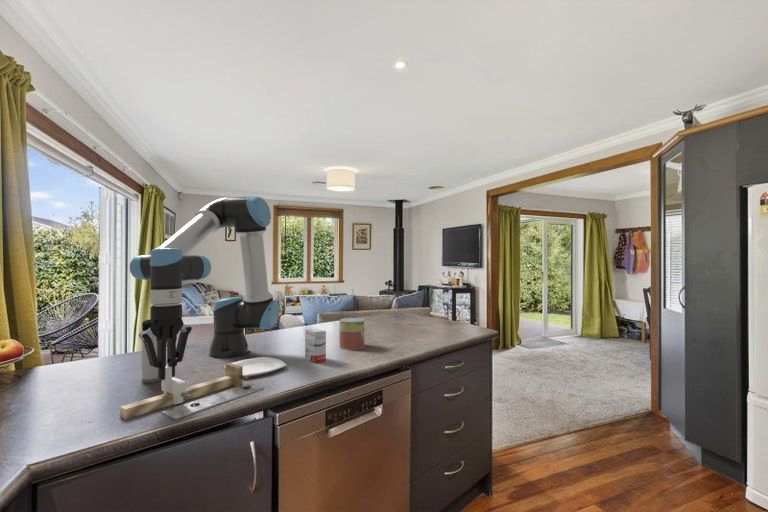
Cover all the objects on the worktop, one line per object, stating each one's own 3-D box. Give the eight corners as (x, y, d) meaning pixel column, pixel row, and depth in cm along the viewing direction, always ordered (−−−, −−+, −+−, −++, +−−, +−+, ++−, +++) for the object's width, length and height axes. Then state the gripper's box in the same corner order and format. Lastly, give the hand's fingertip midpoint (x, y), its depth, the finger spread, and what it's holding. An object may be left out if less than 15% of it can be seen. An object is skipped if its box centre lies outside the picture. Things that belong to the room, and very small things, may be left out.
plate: (293, 370, 131) (293, 364, 131) (242, 383, 117) (242, 377, 117) (266, 359, 145) (266, 354, 145) (216, 371, 130) (216, 365, 130)
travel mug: (169, 377, 122) (169, 317, 122) (151, 383, 116) (151, 320, 116) (156, 375, 124) (156, 316, 125) (137, 381, 118) (137, 319, 118)
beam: (136, 426, 87) (136, 401, 87) (118, 415, 93) (118, 391, 93) (252, 386, 113) (252, 367, 113) (233, 380, 119) (233, 362, 119)
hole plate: (162, 412, 94) (162, 411, 94) (249, 384, 116) (249, 382, 116) (175, 419, 90) (175, 417, 90) (263, 388, 112) (263, 387, 112)
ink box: (326, 360, 142) (326, 330, 142) (315, 363, 138) (315, 332, 138) (315, 356, 148) (315, 327, 148) (304, 358, 145) (304, 328, 145)
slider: (185, 409, 96) (185, 386, 96) (163, 399, 103) (163, 378, 103) (193, 406, 97) (193, 384, 97) (171, 396, 104) (171, 376, 104)
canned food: (363, 349, 158) (363, 322, 158) (337, 349, 159) (337, 322, 159) (365, 343, 170) (365, 317, 170) (341, 343, 170) (341, 317, 170)
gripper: (146, 308, 93) (146, 401, 93) (197, 302, 103) (197, 386, 103) (133, 305, 97) (133, 394, 97) (183, 300, 108) (184, 380, 108)
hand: (166, 390), depth 100 cm, fingers closed
